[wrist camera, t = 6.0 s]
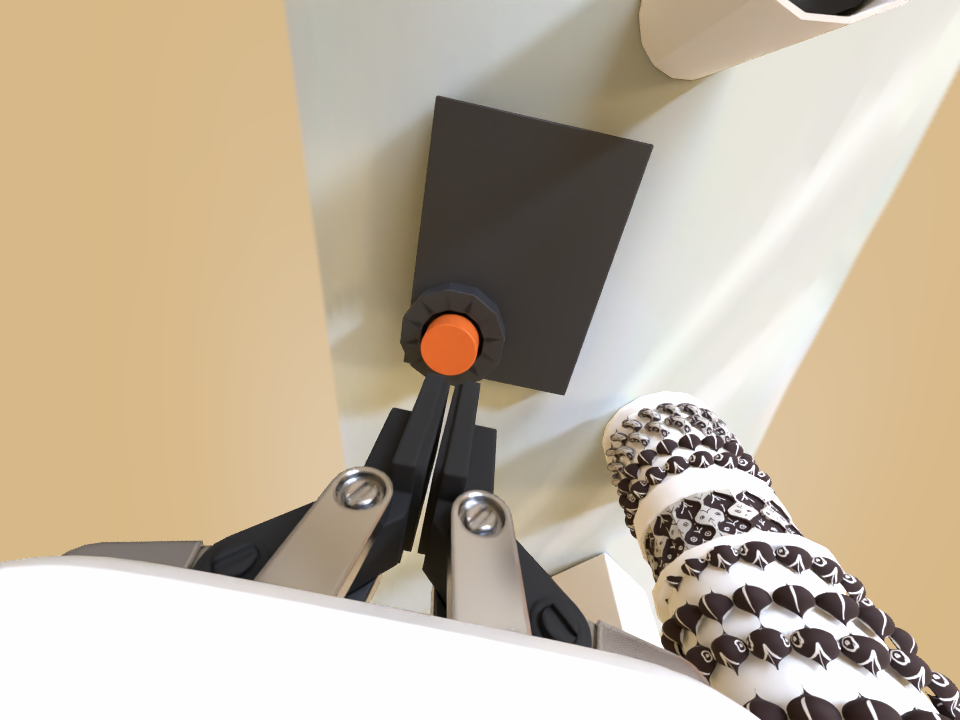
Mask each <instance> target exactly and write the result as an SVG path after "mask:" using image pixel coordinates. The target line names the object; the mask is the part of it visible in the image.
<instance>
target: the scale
mask: <svg viewBox="0 0 960 720" xmlns="http://www.w3.org/2000/svg"><path fill="white" fill-rule="evenodd" d="M652 149H653V145H652V144H647V143H643V142H639V141H634V140H630V139H625V138H621V137H617V136H612V135H608V134H604V133H599V132H595V131H591V130H586V129H582V128H577V127H573V126H569V125H564V124H560V123H556V122H551V121H547V120H543V119H538V118H534V117H529V116H525V115H521V114H516V113H512V112H508V111H503V110H499V109H495V108H490V107H486V106H482V105H477V104H473V103H468V102H464V101H460V100H455V99H451V98H447V97H442V96H436V102H435V110H434V118H433V126H432V134H431V143H430V151H429V159H428V167H427V175H426V184H425V192H424V200H423V208H422V216H421V225H420V233H419V241H418V249H417V257H416V266H415V274H414V282H413V290H412V298H411V307H410V308H409V310H408V311H407V313H406V314H405V315H404V317H403V322H402V331H401V339H400V343H401V345H402V348H403V350H404V352H405V356H404V362H407V363H410V365H411V366H412V367H413V368H415V369H416V370H417V371H419V372H420V373H421V374H422V375H424V376H425V377H426V375H427V373H428V372H429V373H434V374H439V375H443V376H445V379H444V380H445V381H449V382H450V385H452V386H455V385H456V383H459V384H463V381H464V380H466V381H471V382H476V381H480V380H482V379H488V380H493V381H497V382H502V383H507V384H512V385H516V386H521V387H526V388H531V389H535V390H540V391H545V392H550V393H554V394H559V395H565V392H566V390H567V387H568V384H569V381H570V378H571V376H572V373H573V370H574V367H575V364H576V362H577V359H578V356H579V353H580V350H581V348H582V345H583V342H584V339H585V336H586V334H587V331H588V328H589V325H590V322H591V320H592V317H593V314H594V311H595V308H596V306H597V303H598V300H599V297H600V295H601V292H602V289H603V286H604V283H605V281H606V278H607V275H608V272H609V269H610V267H611V264H612V261H613V258H614V255H615V253H616V250H617V247H618V244H619V241H620V239H621V236H622V233H623V230H624V227H625V225H626V222H627V219H628V216H629V213H630V211H631V208H632V205H633V202H634V199H635V197H636V194H637V191H638V188H639V185H640V183H641V180H642V177H643V174H644V171H645V169H646V166H647V163H648V160H649V157H650V155H651V152H652ZM445 314H457V315H460V316H463V317H465V318H467V319H468V320H469V321H471V322H472V323H473V325H474V326H475V328H476V329H477V332H478V335H479V345H478V350H477V356H476V359H475V362H474V363H473V365H472V366H471V367H470V368H469V369H468V370H467V371H465V372H463V373H461V374H457V375H444V374H440V373H438V372H436V371H434V370H432V369H431V368H430V367H429V366H428V365H427V364H426V362H425V361H424V359H423V357H422V354H421V341H422V338H423V336H424V334H425V333H426V331H427V329H428V327H429V325H430V324H431V322H432V321H433V320H434V319H436V318H437V317H439V316H442V315H445Z"/></svg>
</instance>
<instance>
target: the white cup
mask: <svg viewBox="0 0 960 720" xmlns="http://www.w3.org/2000/svg"><path fill="white" fill-rule="evenodd" d="M909 1H910V0H642V2H641V7H640V11H639V22H640V32H641V42H642V45H643V47H644V49H645V51H646V53H647V55H648V56H649V58H650V60H651V62H652V64H653V65H654V66H655V67H656V68H658V69H659V70H661V71H662V72H664V73H665V74H667V75H668V76H669V77H671V78H677V79H687V80H696V79H699V78H702V77H705V76H707V75H710V74H713V73H716V72H719V71H721V70H724V69H727V68H729V67H732V66H735V65H738V64H740V63H743V62H746V61H749V60H752V59H754V58H757V57H760V56H763V55H765V54H768V53H771V52H774V51H777V50H779V49H782V48H785V47H788V46H790V45H793V44H796V43H799V42H802V41H804V40H807V39H810V38H813V37H815V36H818V35H821V34H824V33H827V32H829V31H832V30H835V29H838V28H841V27H843V26H846V25H849V24H852V23H854V22H857V21H860V20H863V19H866V18H868V17H871V16H874V15H877V14H879V13H882V12H885V11H888V10H891V9H893V8H896V7H899V6H902V5H904V4H906V3H907V2H909Z"/></svg>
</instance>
